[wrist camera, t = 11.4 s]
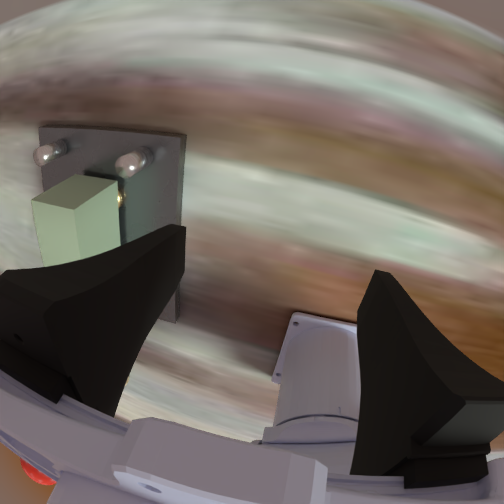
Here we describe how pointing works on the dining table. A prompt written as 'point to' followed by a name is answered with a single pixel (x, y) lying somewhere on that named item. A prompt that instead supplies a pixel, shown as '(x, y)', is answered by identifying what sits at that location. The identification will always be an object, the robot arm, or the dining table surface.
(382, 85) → the dining table surface
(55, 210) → the block
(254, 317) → the dining table surface
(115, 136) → the plate
